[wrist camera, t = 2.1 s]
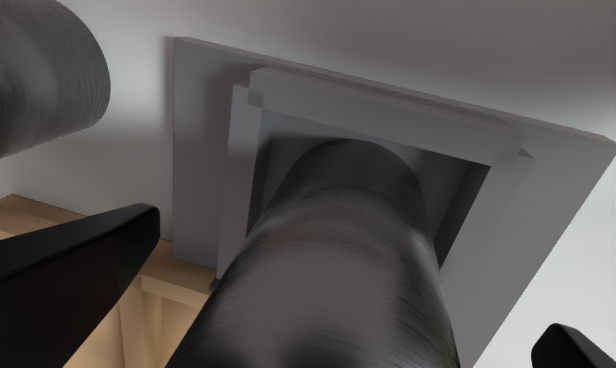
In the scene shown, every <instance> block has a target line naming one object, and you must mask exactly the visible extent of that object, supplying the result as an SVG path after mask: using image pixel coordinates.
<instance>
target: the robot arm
mask: <svg viewBox="0 0 616 368" xmlns="http://www.w3.org/2000/svg"><path fill="white" fill-rule="evenodd" d="M159 238H160V212H159V209H158V208H157V207H155V206H151V205H148V204H144V203H138V204H134V205H131V206H127V207H123V208H119V209H115V210H112V211H108V212H104V213H100V214H96V215H93V216H89V217H85V218H81V219H77V220H73V221H70V222H66V223H62V224H58V225H54V226H51V227H47V228H43V229H39V230H35V231H32V232H28V233H24V234H20V235H16V236H12V237H9V238H5V239H1V240H0V368H63V367H64V366H65V364H66V363H67V362H68V361H69V360H70V358H71V357H72V356H73V355H74V354H75V352H76V351H77V350H78V349H79V348H80V346H81V345H82V344H83V343H84V342H85V340H86V339H87V338H88V337H89V336H90V334H91V333H92V332H93V331H94V330H95V329H96V327H97V326H98V325H99V324H100V323H101V321H102V320H103V319H104V318H105V317H106V315H107V314H108V313H109V312H110V311H111V309H112V308H113V307H114V306H115V305H116V303H117V302H118V301H119V300H120V298H121V297H122V296H123V294H124V293H125V291H126V290H127V289H128V287H129V286H130V284H131V283H132V281H133V280H134V278H135V277H136V275H137V274H138V272H139V271H140V269H141V268H142V266H143V265H144V263H145V262H146V260H147V259H148V258H149V256H150V255H151V253H152V252H153V250H154V249H155V247H156V246H157V244H158V242H159ZM531 360H532V366H533V368H616V362H615V361H614V360H613V359H612V358H611V357H610V356H608V355H607V354H606V353H605V352H604V351H602V350H601V349H600V348H599V347H598V346H596V345H595V344H594V343H593V342H592V341H591V340H589V339H588V338H587V337H586V336H585V335H583V334H582V333H581V332H580V331H579V330H577V329H575V328H572V327H569V326H566V325H562V324H559V323H553V324H551V325H550V326H549V327H548V328H547V329H546V330H545V332H544V333H543V334H542V336H541V337H540V338H539V340H538V341H537V342H536V343H535V345H534V346H533V348H532V352H531Z"/></svg>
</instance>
